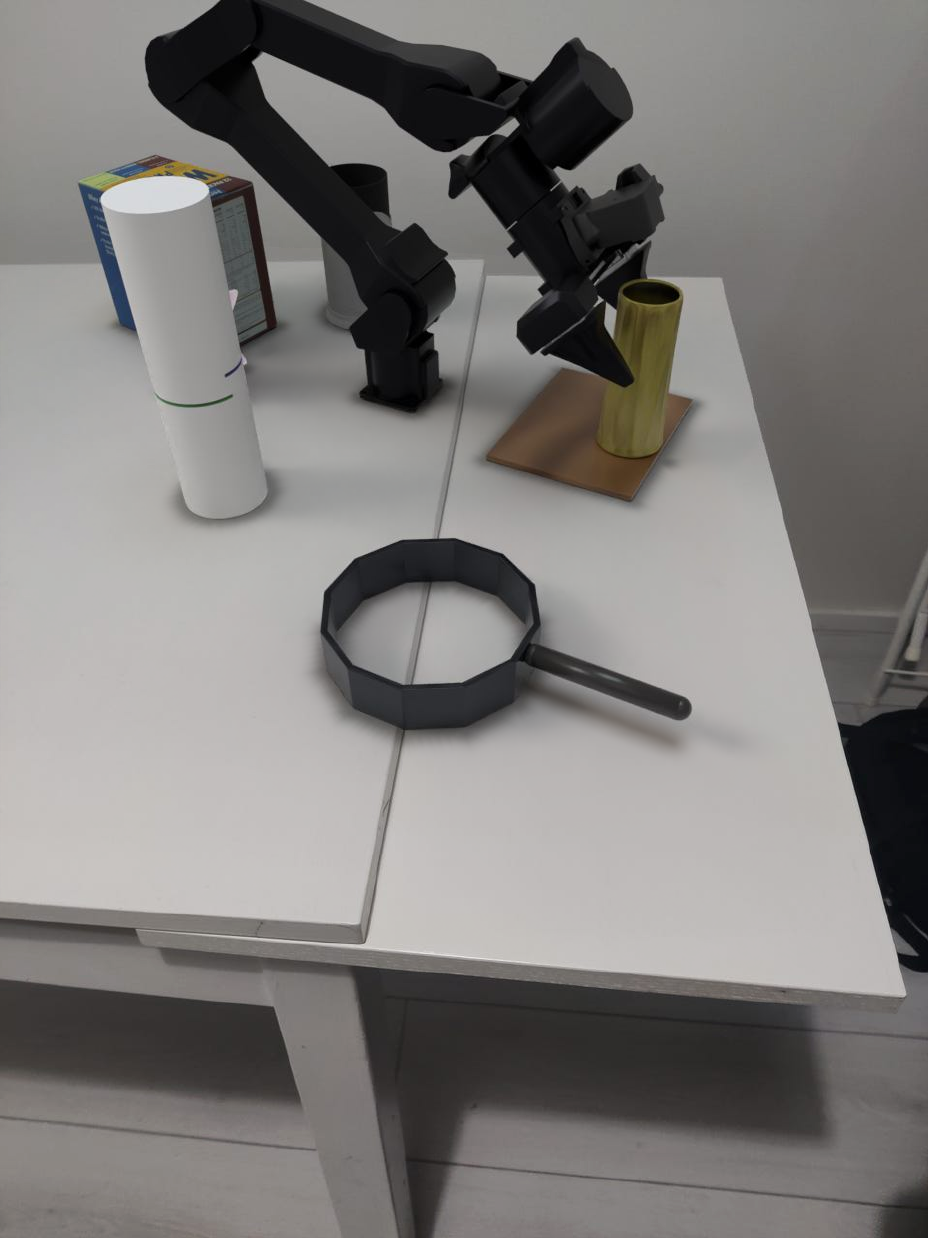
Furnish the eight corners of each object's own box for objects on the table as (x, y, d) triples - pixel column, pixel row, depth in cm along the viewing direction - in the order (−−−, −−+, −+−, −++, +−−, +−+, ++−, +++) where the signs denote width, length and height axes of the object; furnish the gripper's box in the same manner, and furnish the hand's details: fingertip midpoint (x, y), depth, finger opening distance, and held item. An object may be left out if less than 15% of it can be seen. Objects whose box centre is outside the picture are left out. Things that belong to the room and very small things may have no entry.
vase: (664, 460, 79) (693, 309, 69) (596, 458, 79) (615, 307, 69) (659, 424, 83) (685, 276, 73) (594, 421, 84) (611, 274, 74)
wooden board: (485, 459, 80) (485, 454, 80) (561, 372, 92) (562, 366, 91) (630, 502, 76) (631, 496, 75) (691, 404, 87) (692, 398, 87)
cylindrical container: (283, 481, 78) (230, 184, 60) (236, 527, 73) (163, 220, 56) (217, 462, 80) (147, 170, 63) (167, 505, 76) (77, 203, 58)
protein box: (187, 292, 106) (154, 152, 95) (279, 326, 99) (255, 180, 88) (117, 324, 100) (73, 180, 89) (210, 363, 93) (175, 212, 82)
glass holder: (339, 335, 97) (323, 194, 87) (303, 285, 107) (285, 152, 96) (412, 321, 100) (405, 181, 89) (371, 273, 109) (360, 142, 99)
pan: (286, 680, 61) (278, 640, 58) (395, 556, 71) (392, 517, 68) (645, 830, 53) (655, 792, 50) (714, 666, 62) (726, 626, 59)
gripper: (566, 177, 59) (696, 361, 64) (644, 105, 71) (749, 264, 76) (461, 272, 67) (583, 429, 72) (547, 193, 79) (648, 332, 84)
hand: (645, 359), depth 75 cm, fingers open, 9 cm apart
